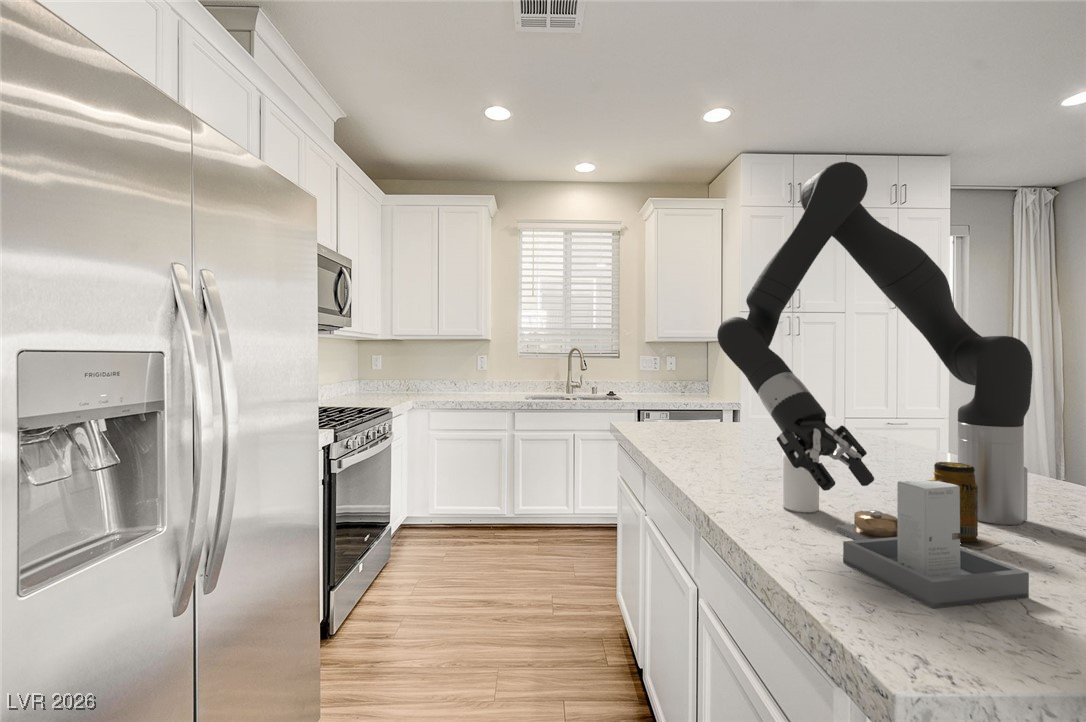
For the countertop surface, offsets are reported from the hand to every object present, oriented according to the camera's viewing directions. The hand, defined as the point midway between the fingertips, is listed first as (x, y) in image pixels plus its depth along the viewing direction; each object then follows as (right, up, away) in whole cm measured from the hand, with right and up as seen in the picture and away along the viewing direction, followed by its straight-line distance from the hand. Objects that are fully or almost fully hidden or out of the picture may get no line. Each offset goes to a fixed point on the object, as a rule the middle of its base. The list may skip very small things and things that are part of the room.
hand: (850, 485), depth 81 cm
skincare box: (+4, -9, -11) cm, 15 cm away
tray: (+4, -10, -11) cm, 15 cm away
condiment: (+21, -10, +5) cm, 23 cm away
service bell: (+7, -10, +5) cm, 13 cm away
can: (+3, -10, +22) cm, 24 cm away
